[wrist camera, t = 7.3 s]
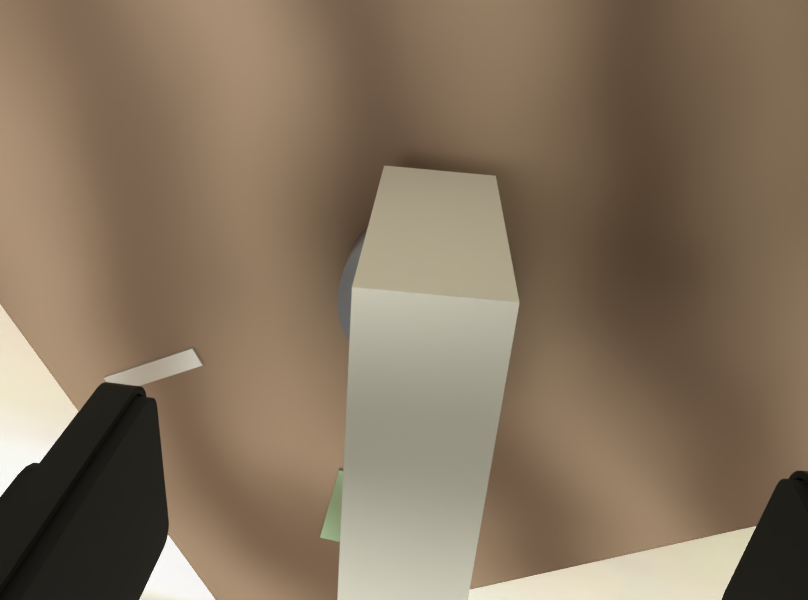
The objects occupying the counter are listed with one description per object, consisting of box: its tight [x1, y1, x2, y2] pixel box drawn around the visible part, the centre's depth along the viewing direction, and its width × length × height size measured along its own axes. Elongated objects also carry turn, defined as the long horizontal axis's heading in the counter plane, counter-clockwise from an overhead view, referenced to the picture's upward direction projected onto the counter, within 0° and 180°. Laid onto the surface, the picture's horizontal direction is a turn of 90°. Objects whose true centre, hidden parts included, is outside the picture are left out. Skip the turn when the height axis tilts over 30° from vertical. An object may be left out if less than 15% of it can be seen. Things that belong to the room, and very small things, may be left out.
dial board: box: [0, 0, 808, 600], centre depth 19 cm, size 23×23×2 cm
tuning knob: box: [337, 166, 520, 600], centre depth 17 cm, size 14×4×7 cm, turn 176°
